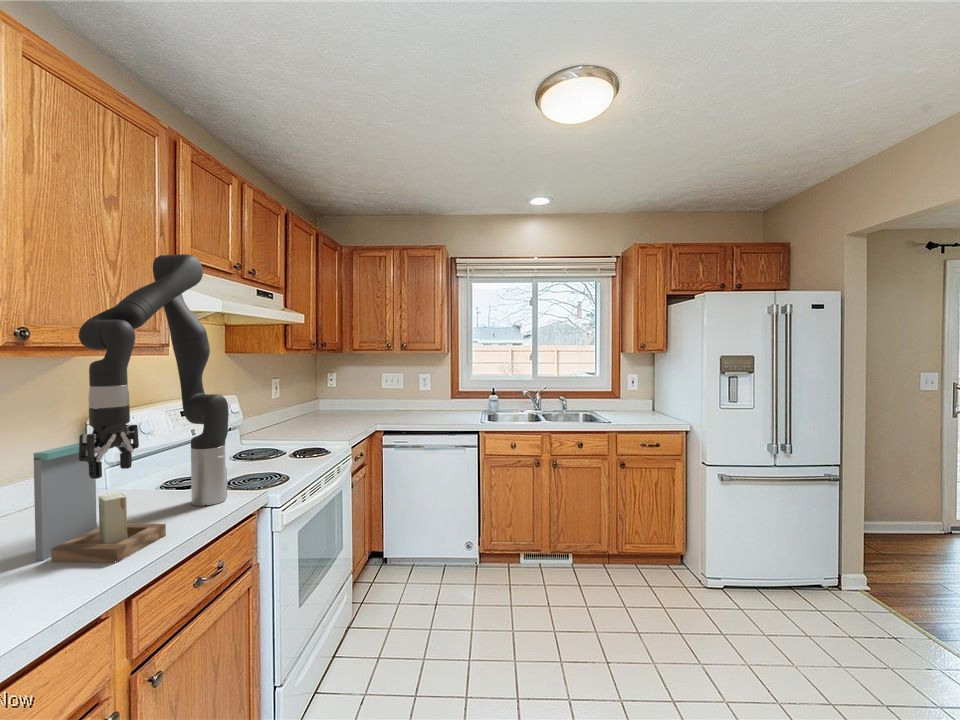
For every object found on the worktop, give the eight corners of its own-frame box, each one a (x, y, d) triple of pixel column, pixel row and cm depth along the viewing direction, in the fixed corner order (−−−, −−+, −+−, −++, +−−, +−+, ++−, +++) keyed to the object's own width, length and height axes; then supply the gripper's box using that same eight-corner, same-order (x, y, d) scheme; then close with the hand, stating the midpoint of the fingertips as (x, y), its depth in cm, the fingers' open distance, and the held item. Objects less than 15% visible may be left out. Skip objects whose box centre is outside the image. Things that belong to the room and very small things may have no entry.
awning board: (90, 535, 117) (88, 441, 117) (102, 535, 117) (101, 441, 117) (35, 560, 103) (33, 453, 103) (49, 560, 103) (47, 453, 103)
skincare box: (128, 548, 110) (127, 496, 110) (105, 554, 107) (104, 501, 106) (121, 540, 114) (120, 491, 114) (99, 546, 111) (98, 495, 111)
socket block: (108, 535, 118) (107, 523, 118) (165, 535, 117) (165, 523, 117) (51, 561, 103) (51, 548, 103) (117, 562, 102) (117, 549, 102)
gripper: (118, 401, 117) (120, 465, 117) (66, 408, 102) (68, 481, 103) (147, 401, 116) (149, 465, 117) (99, 408, 102) (101, 481, 102)
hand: (111, 473), depth 110 cm, fingers open, 8 cm apart
